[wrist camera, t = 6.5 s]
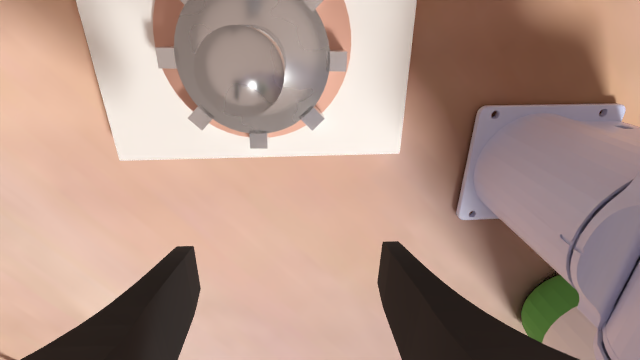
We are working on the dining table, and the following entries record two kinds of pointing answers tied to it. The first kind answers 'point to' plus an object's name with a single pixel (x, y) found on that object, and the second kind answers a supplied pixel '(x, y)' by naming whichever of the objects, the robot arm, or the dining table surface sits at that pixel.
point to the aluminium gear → (252, 63)
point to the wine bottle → (558, 319)
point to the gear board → (222, 142)
